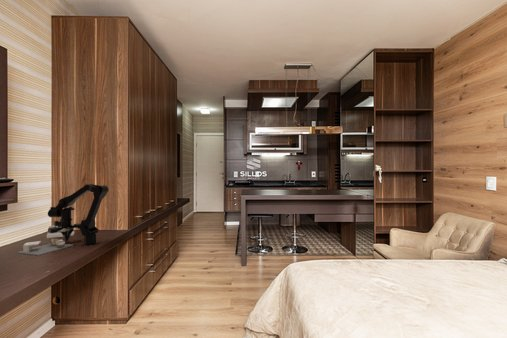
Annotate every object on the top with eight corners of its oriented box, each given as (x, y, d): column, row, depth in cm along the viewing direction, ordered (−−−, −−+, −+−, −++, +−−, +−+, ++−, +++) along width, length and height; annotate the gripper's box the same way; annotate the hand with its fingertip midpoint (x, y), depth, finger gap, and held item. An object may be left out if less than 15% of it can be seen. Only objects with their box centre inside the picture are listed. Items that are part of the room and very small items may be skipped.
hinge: (45, 238, 191) (46, 224, 194) (47, 239, 195) (48, 225, 198) (74, 235, 199) (74, 221, 202) (74, 236, 203) (75, 222, 206)
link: (65, 246, 167) (65, 241, 167) (58, 247, 164) (58, 243, 164) (57, 242, 176) (57, 238, 176) (49, 243, 173) (49, 239, 173)
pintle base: (73, 245, 172) (73, 237, 172) (39, 255, 152) (38, 247, 152) (52, 243, 177) (52, 236, 177) (16, 253, 157) (16, 244, 157)
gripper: (76, 214, 189) (76, 236, 189) (44, 218, 173) (44, 242, 173) (83, 215, 182) (84, 238, 182) (51, 220, 167) (51, 245, 167)
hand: (66, 241), depth 176 cm, fingers closed
